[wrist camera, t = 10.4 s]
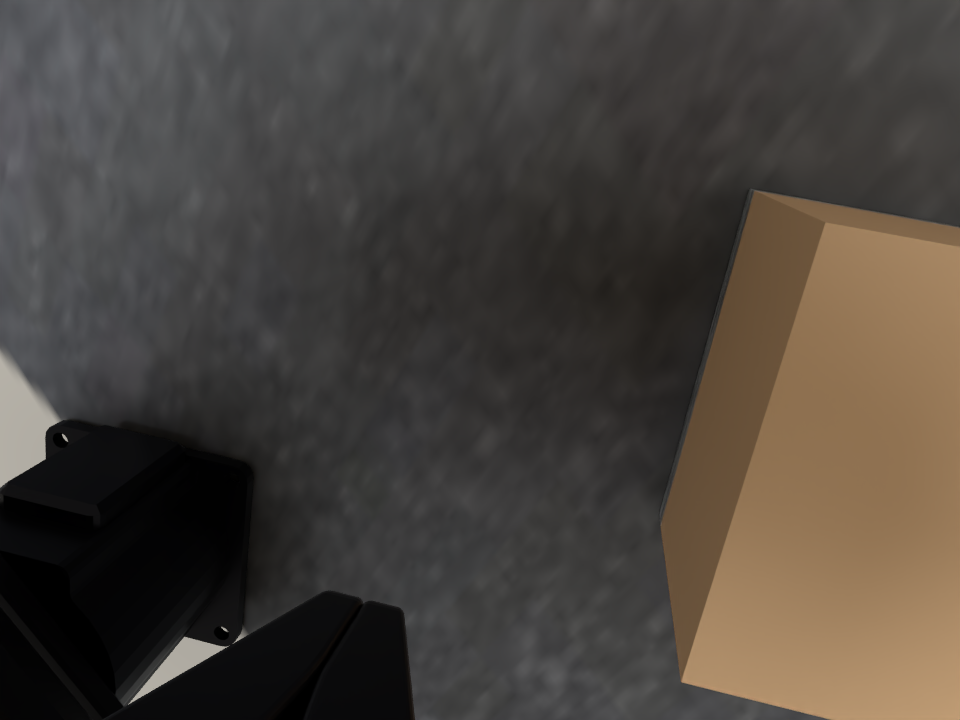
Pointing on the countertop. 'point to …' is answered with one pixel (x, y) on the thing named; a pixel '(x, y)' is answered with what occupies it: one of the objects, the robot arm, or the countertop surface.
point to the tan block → (826, 471)
